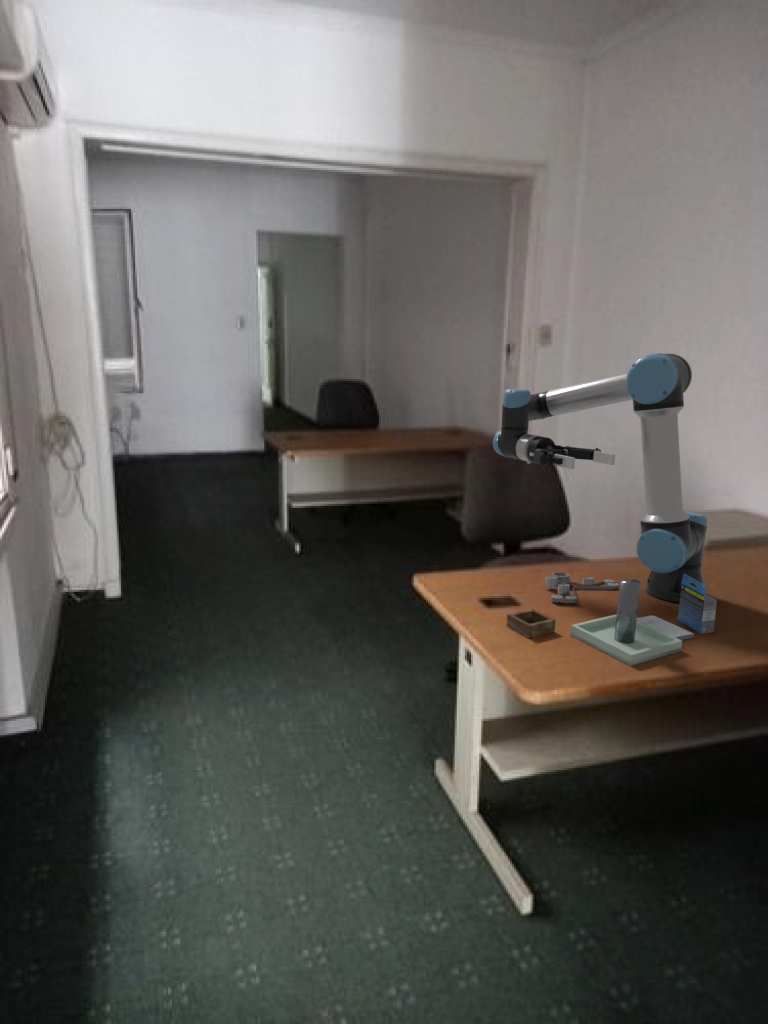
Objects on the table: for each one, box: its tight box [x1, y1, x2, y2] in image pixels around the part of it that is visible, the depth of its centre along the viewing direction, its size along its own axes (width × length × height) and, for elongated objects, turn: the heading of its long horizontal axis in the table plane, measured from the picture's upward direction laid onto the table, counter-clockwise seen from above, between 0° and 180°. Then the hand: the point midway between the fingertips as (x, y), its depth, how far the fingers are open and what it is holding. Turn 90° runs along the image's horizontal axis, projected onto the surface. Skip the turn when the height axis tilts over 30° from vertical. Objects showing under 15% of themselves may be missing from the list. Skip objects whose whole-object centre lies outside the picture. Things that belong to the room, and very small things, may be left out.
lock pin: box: [614, 577, 642, 644], centre depth 158 cm, size 4×4×14 cm
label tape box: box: [677, 574, 718, 634], centre depth 168 cm, size 9×4×12 cm, turn 14°
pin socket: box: [506, 608, 556, 639], centre depth 166 cm, size 8×8×3 cm
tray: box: [569, 613, 683, 667], centre depth 159 cm, size 16×18×2 cm
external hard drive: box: [637, 614, 695, 641], centre depth 167 cm, size 2×8×12 cm
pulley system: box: [544, 571, 619, 604], centre depth 193 cm, size 27×5×15 cm
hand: (594, 461), depth 173 cm, fingers open, 13 cm apart
